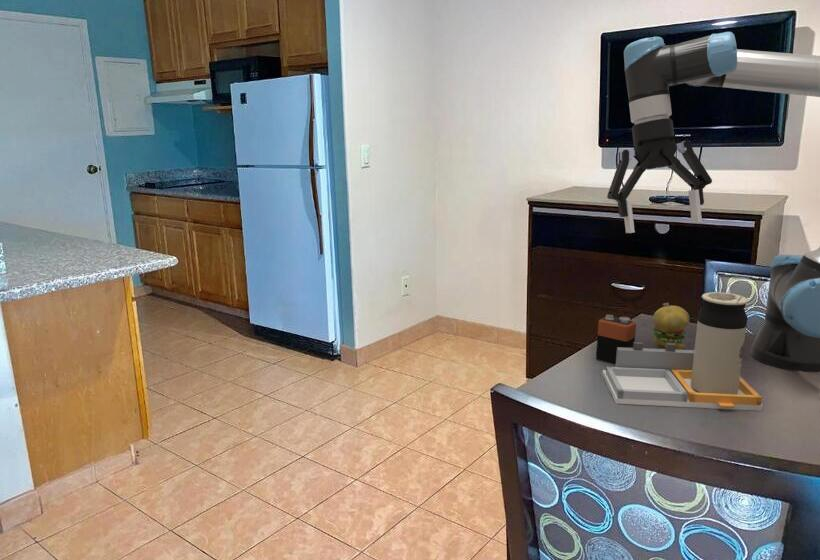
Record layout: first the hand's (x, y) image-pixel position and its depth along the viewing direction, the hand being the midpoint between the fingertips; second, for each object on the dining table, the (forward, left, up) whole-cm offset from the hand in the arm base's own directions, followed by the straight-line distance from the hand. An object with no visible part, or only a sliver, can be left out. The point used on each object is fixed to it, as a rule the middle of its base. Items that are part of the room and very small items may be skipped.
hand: (663, 227), depth 121 cm
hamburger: (-6, -9, -30) cm, 32 cm away
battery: (+7, -2, -30) cm, 31 cm away
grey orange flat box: (-1, +13, -30) cm, 32 cm away
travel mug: (-8, +14, -29) cm, 33 cm away
